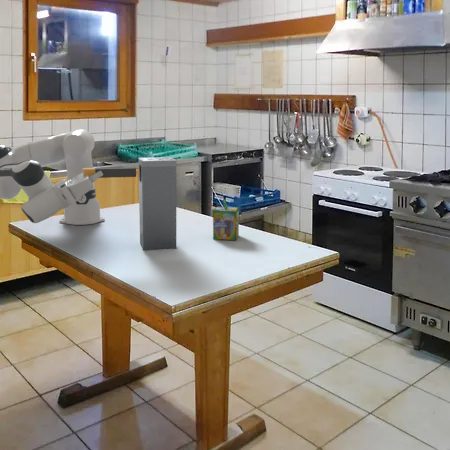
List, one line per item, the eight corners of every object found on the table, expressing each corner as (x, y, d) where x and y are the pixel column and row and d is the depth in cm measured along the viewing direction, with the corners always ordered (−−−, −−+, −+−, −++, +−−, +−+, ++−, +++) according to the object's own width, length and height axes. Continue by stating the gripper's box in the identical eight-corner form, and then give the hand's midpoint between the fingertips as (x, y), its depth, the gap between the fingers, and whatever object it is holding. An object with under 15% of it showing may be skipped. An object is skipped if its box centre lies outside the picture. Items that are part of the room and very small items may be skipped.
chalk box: (235, 241, 223) (236, 203, 220) (212, 239, 224) (212, 201, 221) (239, 235, 232) (240, 198, 228) (216, 234, 233) (217, 197, 230)
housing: (140, 243, 217) (138, 157, 210) (171, 241, 220) (171, 157, 213) (143, 250, 207) (141, 161, 200) (176, 248, 210) (176, 160, 203)
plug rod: (83, 176, 203) (83, 168, 202) (135, 175, 207) (135, 167, 206) (83, 178, 200) (83, 169, 199) (136, 176, 204) (136, 168, 204)
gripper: (71, 194, 212) (104, 174, 213) (72, 205, 192) (108, 183, 194) (62, 179, 210) (95, 160, 211) (61, 189, 190) (98, 167, 192)
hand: (101, 171), depth 202 cm, fingers closed on plug rod, 3 cm apart
